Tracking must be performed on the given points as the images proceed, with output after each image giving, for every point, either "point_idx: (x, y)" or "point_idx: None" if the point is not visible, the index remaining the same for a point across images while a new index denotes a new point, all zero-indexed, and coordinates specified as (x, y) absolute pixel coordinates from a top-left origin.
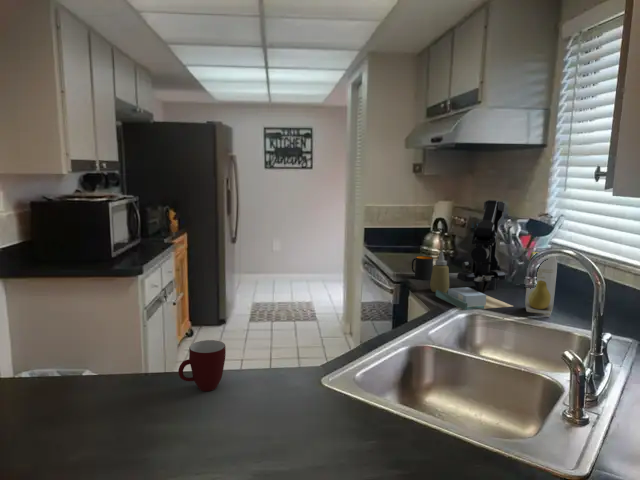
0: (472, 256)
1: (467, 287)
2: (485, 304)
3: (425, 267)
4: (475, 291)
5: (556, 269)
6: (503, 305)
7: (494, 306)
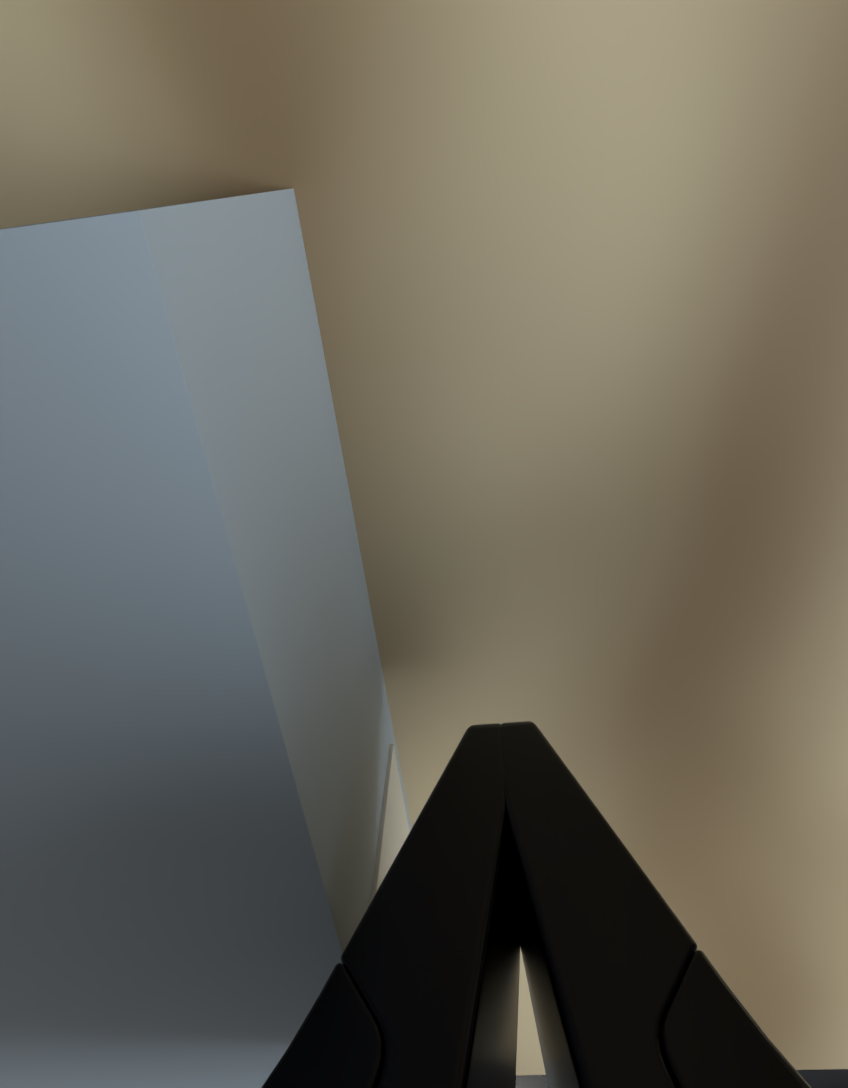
0: None
1: (107, 261)
2: None
3: None
4: (241, 990)
5: None
6: (804, 1011)
7: None
